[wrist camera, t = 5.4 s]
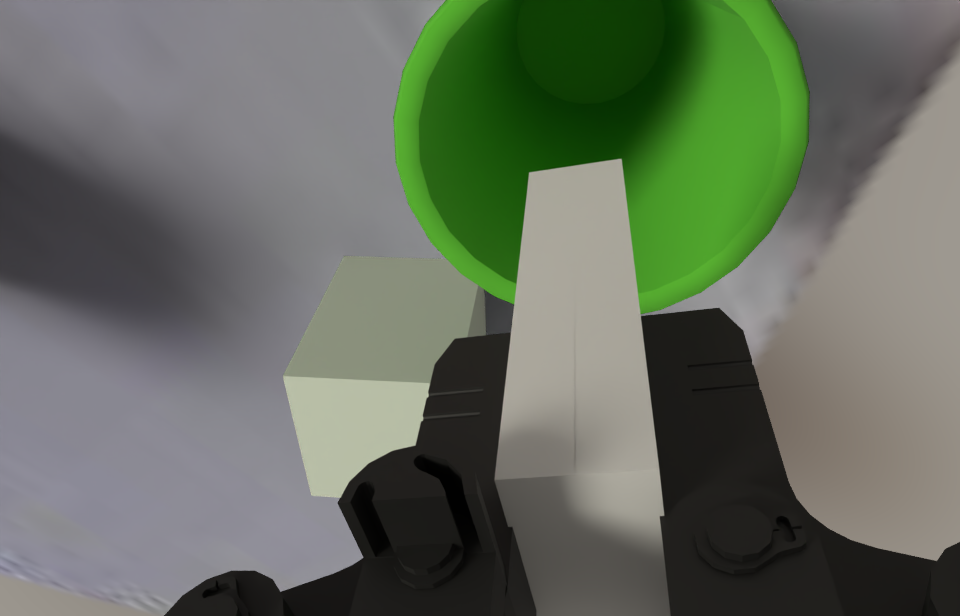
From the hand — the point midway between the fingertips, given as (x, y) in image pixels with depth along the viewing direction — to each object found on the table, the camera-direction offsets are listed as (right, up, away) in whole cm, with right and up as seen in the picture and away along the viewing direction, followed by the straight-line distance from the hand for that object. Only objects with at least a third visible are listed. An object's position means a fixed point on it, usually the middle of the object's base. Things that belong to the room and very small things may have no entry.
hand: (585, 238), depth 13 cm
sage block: (-5, -2, +20) cm, 21 cm away
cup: (+2, +9, +13) cm, 16 cm away
